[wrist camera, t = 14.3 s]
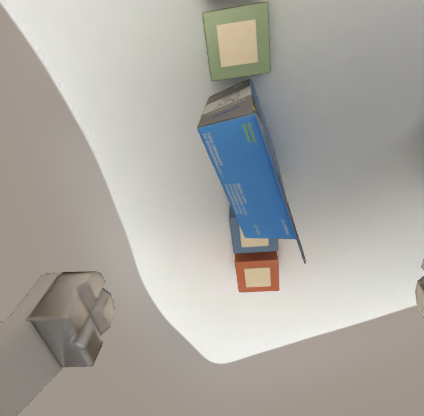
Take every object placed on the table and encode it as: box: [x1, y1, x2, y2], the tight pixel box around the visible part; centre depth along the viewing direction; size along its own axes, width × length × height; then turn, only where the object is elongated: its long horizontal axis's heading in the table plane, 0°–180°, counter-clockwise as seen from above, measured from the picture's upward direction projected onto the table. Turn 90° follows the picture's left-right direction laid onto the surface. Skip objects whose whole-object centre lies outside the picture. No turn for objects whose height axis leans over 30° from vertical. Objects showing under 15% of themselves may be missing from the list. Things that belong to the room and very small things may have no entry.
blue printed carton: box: [197, 79, 306, 263], centre depth 22 cm, size 9×4×12 cm, turn 22°
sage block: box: [202, 2, 271, 81], centre depth 21 cm, size 4×4×4 cm
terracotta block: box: [235, 251, 279, 292], centre depth 31 cm, size 4×4×4 cm
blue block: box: [229, 205, 278, 254], centre depth 29 cm, size 4×4×4 cm
